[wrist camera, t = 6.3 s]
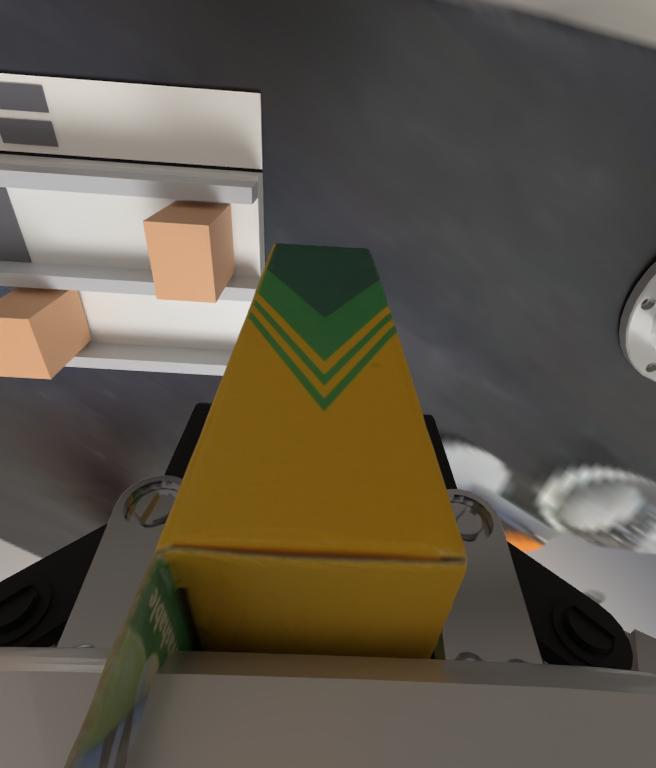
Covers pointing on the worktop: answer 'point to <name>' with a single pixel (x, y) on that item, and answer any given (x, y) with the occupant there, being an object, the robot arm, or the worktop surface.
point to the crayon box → (295, 501)
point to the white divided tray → (128, 209)
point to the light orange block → (40, 331)
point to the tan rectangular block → (190, 250)
